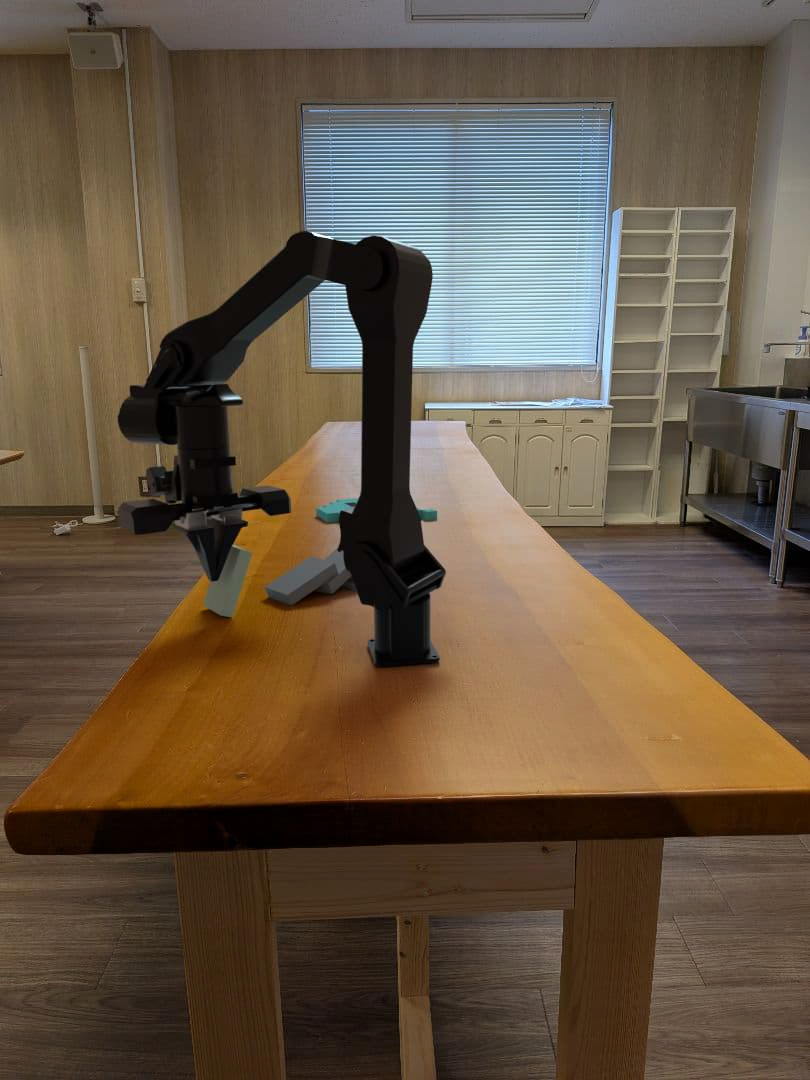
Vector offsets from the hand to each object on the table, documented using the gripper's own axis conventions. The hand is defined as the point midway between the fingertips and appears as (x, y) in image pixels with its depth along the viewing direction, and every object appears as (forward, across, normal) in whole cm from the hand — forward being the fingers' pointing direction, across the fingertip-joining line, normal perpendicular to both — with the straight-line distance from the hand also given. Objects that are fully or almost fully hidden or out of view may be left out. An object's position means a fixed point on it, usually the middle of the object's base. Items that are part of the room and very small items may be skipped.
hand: (213, 580), depth 85 cm
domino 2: (+4, -14, 0) cm, 14 cm away
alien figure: (+5, -50, -38) cm, 63 cm away
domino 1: (+4, -8, 0) cm, 9 cm away
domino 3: (+5, -18, 0) cm, 19 cm away
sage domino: (+4, -1, -1) cm, 4 cm away
